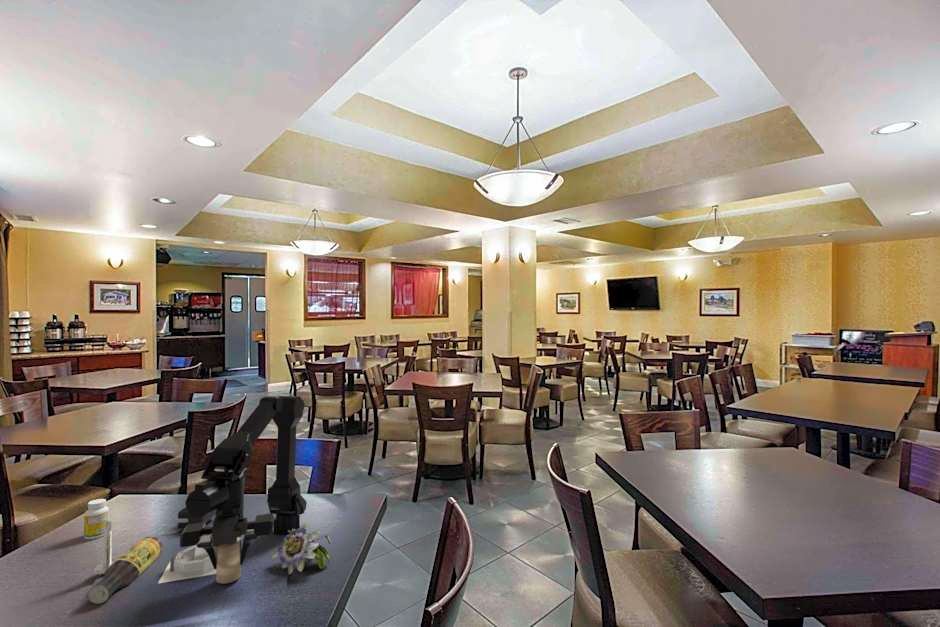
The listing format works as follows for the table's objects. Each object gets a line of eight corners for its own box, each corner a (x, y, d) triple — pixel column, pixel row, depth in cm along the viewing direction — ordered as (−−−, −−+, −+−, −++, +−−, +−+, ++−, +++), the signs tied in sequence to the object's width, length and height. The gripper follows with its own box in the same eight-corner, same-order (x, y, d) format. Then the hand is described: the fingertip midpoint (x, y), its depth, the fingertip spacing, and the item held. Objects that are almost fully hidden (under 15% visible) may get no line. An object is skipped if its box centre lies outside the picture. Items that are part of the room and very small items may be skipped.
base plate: (233, 553, 117) (233, 549, 117) (226, 576, 106) (226, 571, 106) (171, 563, 112) (171, 559, 112) (157, 587, 101) (157, 583, 101)
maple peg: (241, 569, 106) (242, 535, 106) (239, 580, 102) (240, 545, 102) (217, 573, 104) (218, 539, 105) (214, 585, 100) (215, 549, 100)
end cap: (202, 534, 127) (202, 510, 127) (176, 534, 127) (177, 510, 127) (219, 518, 137) (220, 496, 137) (196, 519, 137) (196, 497, 137)
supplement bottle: (104, 538, 124) (105, 503, 125) (80, 541, 122) (81, 506, 123) (111, 529, 129) (112, 496, 130) (88, 532, 127) (89, 499, 127)
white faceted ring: (223, 552, 115) (223, 540, 115) (216, 572, 106) (216, 559, 106) (176, 559, 112) (176, 547, 112) (165, 580, 103) (165, 567, 103)
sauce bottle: (169, 540, 114) (124, 587, 95) (155, 562, 114) (108, 615, 94) (144, 530, 113) (93, 576, 94) (130, 552, 113) (77, 603, 93)
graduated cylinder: (124, 569, 109) (109, 580, 104) (103, 570, 108) (88, 581, 104) (125, 516, 109) (111, 525, 104) (104, 516, 109) (89, 525, 104)
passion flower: (290, 596, 108) (260, 558, 107) (311, 563, 118) (284, 529, 117) (325, 575, 105) (295, 536, 105) (343, 544, 116) (315, 508, 115)
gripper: (173, 519, 92) (172, 594, 92) (271, 506, 99) (270, 577, 99) (187, 499, 103) (185, 566, 103) (274, 489, 109) (273, 552, 109)
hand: (228, 566), depth 103 cm, fingers closed on maple peg, 5 cm apart
